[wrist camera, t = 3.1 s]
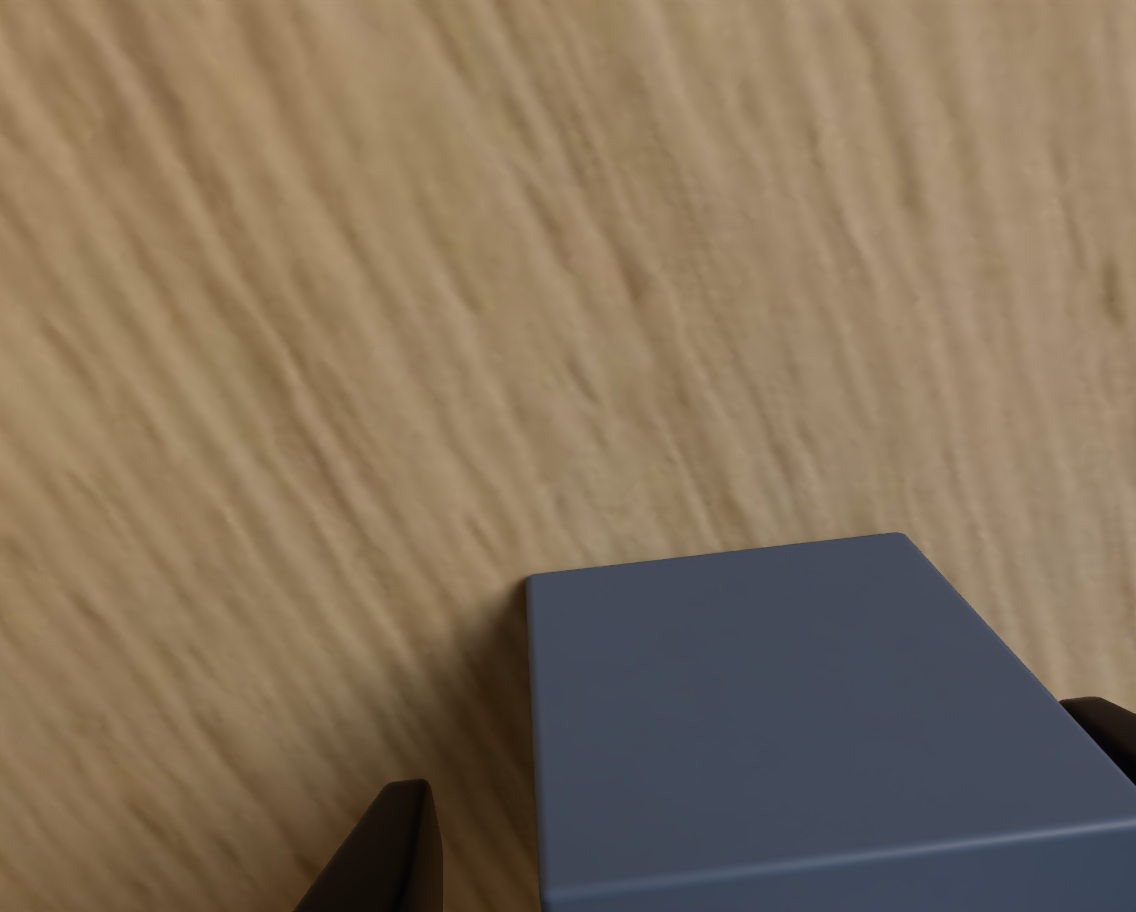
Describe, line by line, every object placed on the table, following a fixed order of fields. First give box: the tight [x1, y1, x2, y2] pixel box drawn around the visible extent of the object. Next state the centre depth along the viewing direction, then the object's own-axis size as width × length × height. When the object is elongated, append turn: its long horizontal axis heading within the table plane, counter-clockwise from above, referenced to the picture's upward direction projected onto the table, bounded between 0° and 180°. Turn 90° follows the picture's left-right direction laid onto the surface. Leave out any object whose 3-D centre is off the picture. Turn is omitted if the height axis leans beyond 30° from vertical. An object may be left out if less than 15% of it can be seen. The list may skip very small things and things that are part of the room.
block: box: [526, 532, 1136, 912], centre depth 8 cm, size 4×4×4 cm
